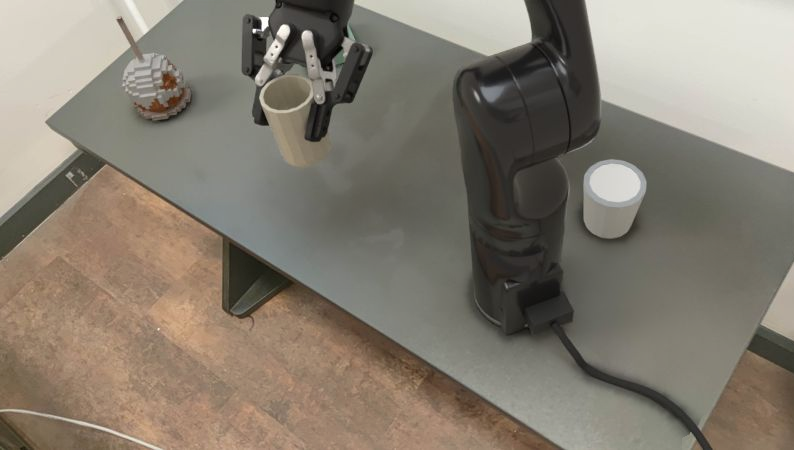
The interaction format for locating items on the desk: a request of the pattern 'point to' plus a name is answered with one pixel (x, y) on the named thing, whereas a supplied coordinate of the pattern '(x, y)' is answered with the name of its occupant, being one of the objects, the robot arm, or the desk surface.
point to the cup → (292, 119)
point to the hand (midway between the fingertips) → (287, 132)
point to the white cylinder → (612, 197)
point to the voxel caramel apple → (153, 83)
